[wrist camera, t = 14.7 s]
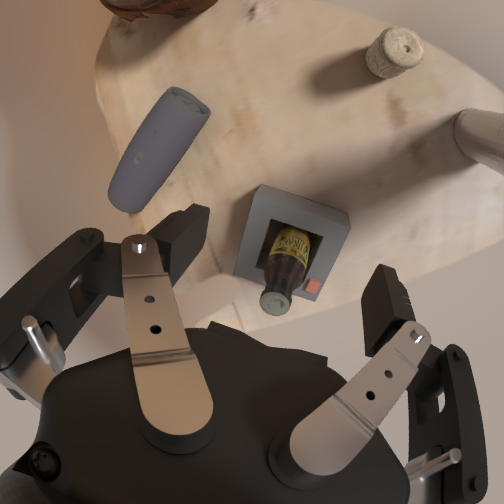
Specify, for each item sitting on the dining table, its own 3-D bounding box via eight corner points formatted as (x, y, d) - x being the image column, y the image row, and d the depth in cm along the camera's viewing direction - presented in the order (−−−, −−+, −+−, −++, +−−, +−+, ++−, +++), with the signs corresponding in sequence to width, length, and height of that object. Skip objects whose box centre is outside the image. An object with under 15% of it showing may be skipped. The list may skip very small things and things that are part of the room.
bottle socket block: (347, 213, 47) (351, 230, 42) (316, 282, 56) (314, 304, 50) (261, 184, 48) (253, 196, 43) (241, 257, 57) (231, 276, 51)
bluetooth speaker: (184, 85, 42) (154, 83, 34) (222, 115, 44) (199, 119, 35) (125, 175, 53) (95, 190, 45) (156, 203, 55) (129, 223, 47)
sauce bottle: (316, 230, 50) (312, 298, 34) (302, 256, 54) (291, 330, 37) (283, 215, 51) (263, 278, 34) (270, 243, 54) (246, 312, 37)
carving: (408, 54, 31) (435, 41, 21) (391, 87, 35) (414, 83, 25) (374, 33, 31) (392, 12, 20) (356, 67, 35) (370, 55, 25)
